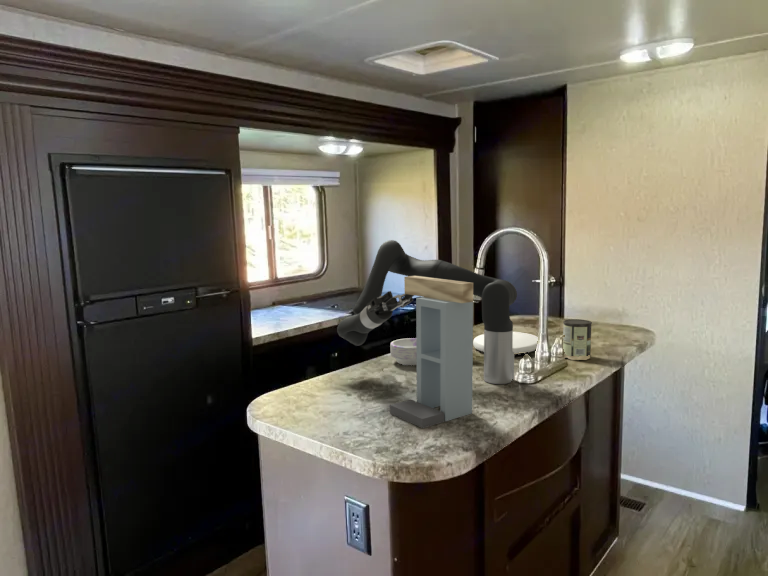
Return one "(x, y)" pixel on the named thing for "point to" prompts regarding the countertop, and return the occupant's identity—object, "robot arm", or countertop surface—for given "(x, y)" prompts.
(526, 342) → the plate
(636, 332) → the countertop surface
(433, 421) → the charcoal block
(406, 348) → the white bowl
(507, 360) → the robot arm
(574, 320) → the coffee can
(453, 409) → the slate stand
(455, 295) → the maple bar
